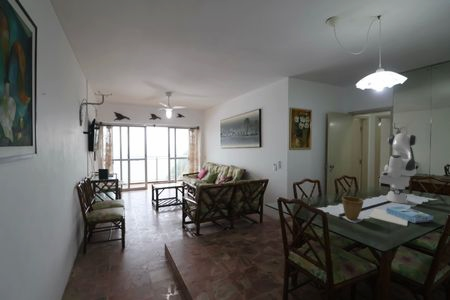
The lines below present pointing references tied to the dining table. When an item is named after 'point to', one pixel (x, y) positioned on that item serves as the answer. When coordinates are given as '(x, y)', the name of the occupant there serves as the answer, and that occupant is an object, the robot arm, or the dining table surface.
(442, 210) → the dining table surface
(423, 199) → the dining table surface
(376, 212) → the white flat board
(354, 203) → the plant pot
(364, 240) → the dining table surface
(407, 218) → the gum box
